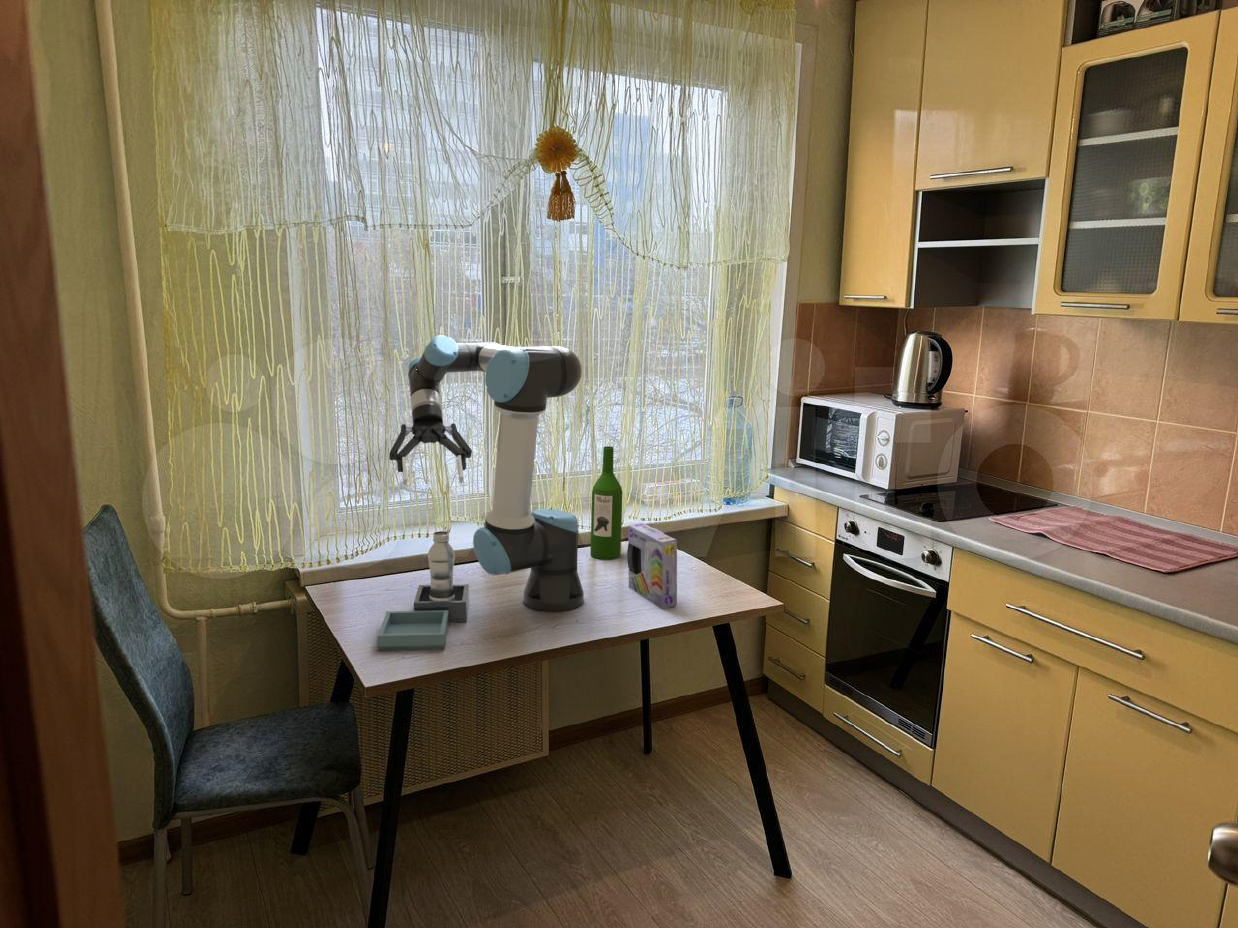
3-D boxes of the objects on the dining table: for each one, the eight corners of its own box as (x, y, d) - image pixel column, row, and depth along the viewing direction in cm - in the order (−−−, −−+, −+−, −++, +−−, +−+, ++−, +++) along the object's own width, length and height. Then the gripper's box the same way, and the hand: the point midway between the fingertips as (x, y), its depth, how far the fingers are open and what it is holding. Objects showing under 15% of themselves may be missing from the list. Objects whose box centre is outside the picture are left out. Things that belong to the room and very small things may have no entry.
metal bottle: (432, 620, 203) (431, 538, 199) (425, 610, 209) (423, 530, 205) (459, 616, 206) (458, 535, 202) (451, 606, 212) (450, 528, 208)
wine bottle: (587, 558, 251) (590, 449, 244) (593, 549, 260) (596, 443, 253) (617, 561, 250) (621, 450, 243) (622, 552, 258) (626, 445, 251)
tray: (448, 624, 201) (448, 610, 200) (444, 649, 187) (444, 634, 187) (387, 625, 199) (386, 611, 198) (377, 651, 186) (377, 635, 185)
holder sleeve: (468, 603, 214) (468, 584, 213) (466, 622, 202) (466, 602, 201) (419, 604, 212) (419, 585, 211) (414, 623, 201) (413, 603, 200)
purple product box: (624, 585, 230) (626, 521, 226) (641, 583, 232) (643, 520, 228) (660, 610, 213) (663, 542, 209) (677, 607, 215) (680, 539, 212)
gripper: (473, 418, 230) (482, 486, 220) (376, 420, 223) (380, 491, 212) (476, 402, 224) (486, 471, 214) (377, 403, 217) (381, 475, 206)
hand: (433, 481), depth 213 cm, fingers open, 13 cm apart
